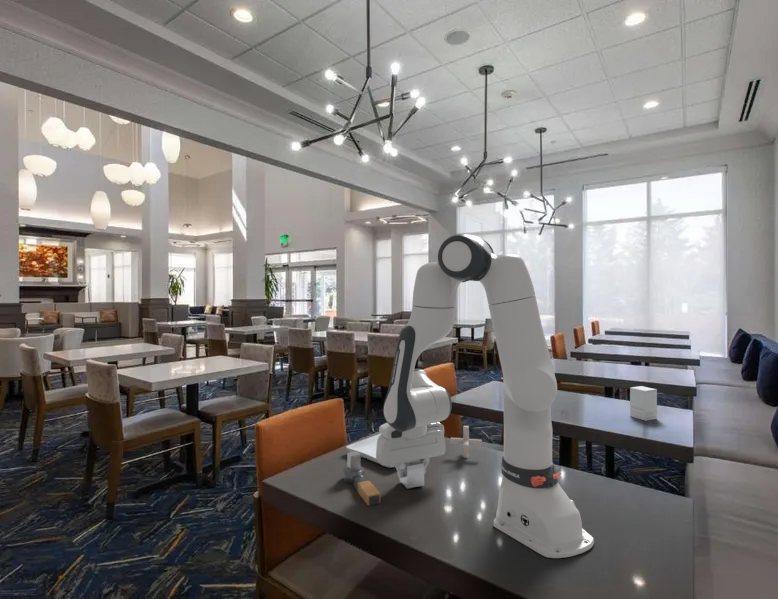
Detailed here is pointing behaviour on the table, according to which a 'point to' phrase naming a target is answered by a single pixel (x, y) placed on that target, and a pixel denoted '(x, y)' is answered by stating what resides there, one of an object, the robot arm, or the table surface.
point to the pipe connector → (466, 441)
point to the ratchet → (360, 479)
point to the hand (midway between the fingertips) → (411, 474)
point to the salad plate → (367, 448)
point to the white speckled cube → (412, 473)
